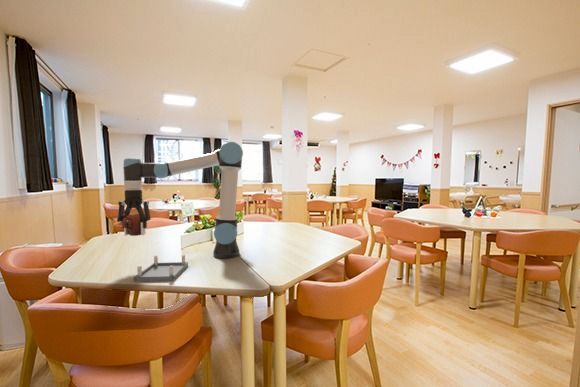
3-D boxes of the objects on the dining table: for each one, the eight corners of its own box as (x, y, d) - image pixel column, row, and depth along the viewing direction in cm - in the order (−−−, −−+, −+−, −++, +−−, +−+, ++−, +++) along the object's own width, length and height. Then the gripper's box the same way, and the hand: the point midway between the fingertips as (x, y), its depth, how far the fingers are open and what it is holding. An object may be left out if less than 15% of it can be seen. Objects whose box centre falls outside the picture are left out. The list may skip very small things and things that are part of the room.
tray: (188, 265, 135) (187, 254, 135) (173, 280, 116) (173, 267, 115) (154, 266, 134) (153, 255, 134) (133, 281, 114) (133, 268, 114)
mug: (136, 232, 139) (135, 213, 138) (150, 233, 137) (149, 213, 136) (116, 237, 127) (115, 216, 126) (131, 238, 125) (131, 217, 125)
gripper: (157, 189, 135) (158, 233, 136) (116, 189, 134) (118, 233, 135) (150, 189, 128) (152, 236, 129) (107, 190, 126) (109, 236, 128)
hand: (135, 234), depth 132 cm, fingers closed on mug, 7 cm apart
